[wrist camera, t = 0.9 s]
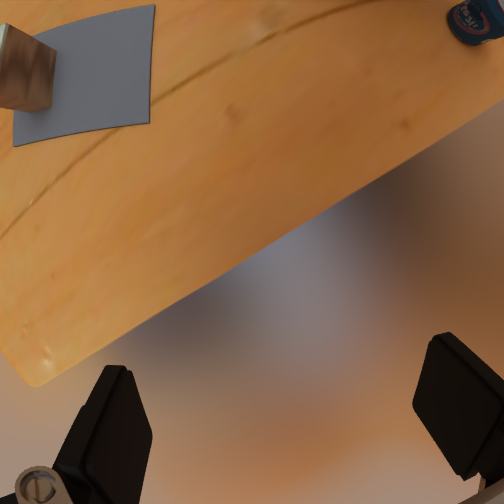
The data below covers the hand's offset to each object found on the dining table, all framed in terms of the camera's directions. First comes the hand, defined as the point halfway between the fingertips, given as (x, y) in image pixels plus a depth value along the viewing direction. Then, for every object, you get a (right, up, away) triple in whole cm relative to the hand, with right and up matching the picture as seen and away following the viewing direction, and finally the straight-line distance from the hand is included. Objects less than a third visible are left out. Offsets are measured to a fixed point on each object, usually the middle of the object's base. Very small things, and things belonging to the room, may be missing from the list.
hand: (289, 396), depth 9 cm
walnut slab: (-28, +26, +20) cm, 43 cm away
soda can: (+31, +39, +22) cm, 54 cm away
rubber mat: (-23, +26, +21) cm, 41 cm away
